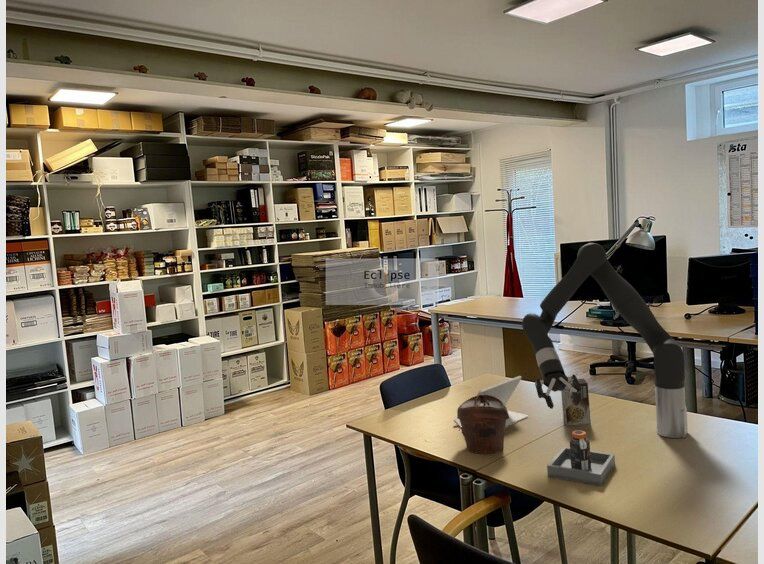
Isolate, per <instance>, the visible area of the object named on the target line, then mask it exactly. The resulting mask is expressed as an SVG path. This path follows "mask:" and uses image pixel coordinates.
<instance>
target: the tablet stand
mask: <svg viewBox="0 0 764 564" xmlns="http://www.w3.org/2000/svg"><path fill="white" fill-rule="evenodd" d="M520 381H522V376H521V375H518V376H515V377H513V378H511V379H507V380H505V381H502V382H499V383H496V384H494V385H491V386H489V387H485V388H483V389H480V390H479V391H478V393H477V394H476V396H478V395H491V396H495V397H497V398H499V399H500V400H501V401H502V402H503V403H504V405H505V406H507V404H508V403H509V401H510V399H511V397H512V396H513V394H514V392H515V390H516V388H517V387H518V385H519V383H520ZM507 411H508V414H509V418H508V419H506V424H505V427H506V428H508V427H510V426H512V425H514V424H513V423H515V424H516V422H517V423H519V422H521V421H523V419H524V420H526V419H528V418H529V415H527V414H524V413H519V412H515V411H511V410H508V409H507ZM527 417H528V418H527ZM525 418H526V419H525ZM520 420H521V421H520ZM518 421H519V422H518ZM453 423H455V424H456V425H457V426H458V425H459V426H461V423H460V419H458V418H457V417H455V418H454V419H453ZM511 424H512V425H511ZM509 425H510V426H509ZM459 426H458V427H459ZM507 426H508V427H507Z"/></svg>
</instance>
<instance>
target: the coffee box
mask: <svg viewBox="0 0 764 564" xmlns="http://www.w3.org/2000/svg"><path fill="white" fill-rule="evenodd" d="M577 380H578V382H579V384H580V386H581V388H582V389H581V391H580V393H579V394H578V397H579V399H580V402H579V404H578V406H575V404H574V401H573V398H572V395H571V394H570V393H568V392H566V391H564V390H563V391H560V393H561V405H562V417H563V419H562V420H563V422H564V424H565V425H566V426H579V424H580V425H591V424H592V423H591V410H590V409H591V408H590V398H589V397H590V395H589V383H588V382H587V381H586V379H585V378H577ZM568 383H569V384H571V385H572V387H573V388H574V386H573V384H572V383H571V382H570V381H568ZM566 387H567V386H566Z"/></svg>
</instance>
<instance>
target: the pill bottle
mask: <svg viewBox="0 0 764 564" xmlns="http://www.w3.org/2000/svg"><path fill="white" fill-rule="evenodd" d="M571 435H572V437H571V438H570V439H569V448H570V456H571V467H572V468H573V469H579V470H589V469H590V468H591V456H590V451H591V445H590V443H591V442H590V440H589V438H587V432H586V431H584V430H580V429H579V430H573V431H572V434H571Z"/></svg>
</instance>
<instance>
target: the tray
mask: <svg viewBox="0 0 764 564" xmlns="http://www.w3.org/2000/svg"><path fill="white" fill-rule="evenodd" d="M590 456H591V468H590V469H589V470H579V469H573V468H572V467H571V456H570V446H569V447H568V446H563V447H562V448H561V449H560V450H559V452H557V454H556V455H555V456H554V457H553V458H552V460H550V462H549V463H548V464H547V465H546V469H547V472H546V473H547V477H550V478H554V479H555V478H556V479H561V480H566V481H570V480H571V482H577V483H583V484H588V485H592V484H593V486H599V487H602V486H603V485H604V483H605V481H606V479H608V476H609V475H610V474H611V472H612V470H613V469H614V468H615V465H616V458H615V457H616V456H615V454H614V453H610V452H603V451H595V450H590Z"/></svg>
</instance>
